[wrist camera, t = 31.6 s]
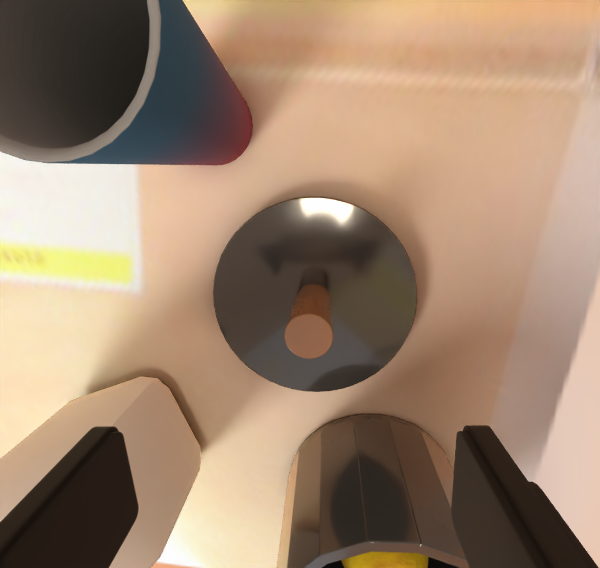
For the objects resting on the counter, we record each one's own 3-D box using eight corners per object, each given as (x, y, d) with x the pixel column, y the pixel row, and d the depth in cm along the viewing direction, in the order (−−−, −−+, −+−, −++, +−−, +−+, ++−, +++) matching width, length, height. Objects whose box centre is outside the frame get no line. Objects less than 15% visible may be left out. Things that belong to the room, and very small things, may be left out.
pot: (456, 413, 27) (534, 546, 17) (447, 546, 31) (506, 723, 20) (285, 413, 28) (262, 538, 18) (294, 541, 32) (280, 707, 22)
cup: (255, 56, 22) (112, -211, 7) (274, 169, 23) (190, 137, 9) (152, 78, 22) (-162, -123, 8) (178, 186, 24) (-43, 182, 10)
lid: (416, 191, 23) (454, 191, 16) (410, 382, 27) (439, 450, 20) (207, 202, 24) (159, 207, 17) (228, 384, 28) (196, 448, 21)
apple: (323, 466, 29) (321, 567, 21) (399, 446, 28) (427, 546, 20) (348, 525, 30) (355, 640, 22) (421, 508, 29) (455, 623, 21)
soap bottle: (166, 360, 28) (-442, 1008, 6) (216, 456, 30) (-89, 1201, 8) (66, 394, 29) (-710, 1009, 7) (121, 484, 31) (-355, 1169, 9)
